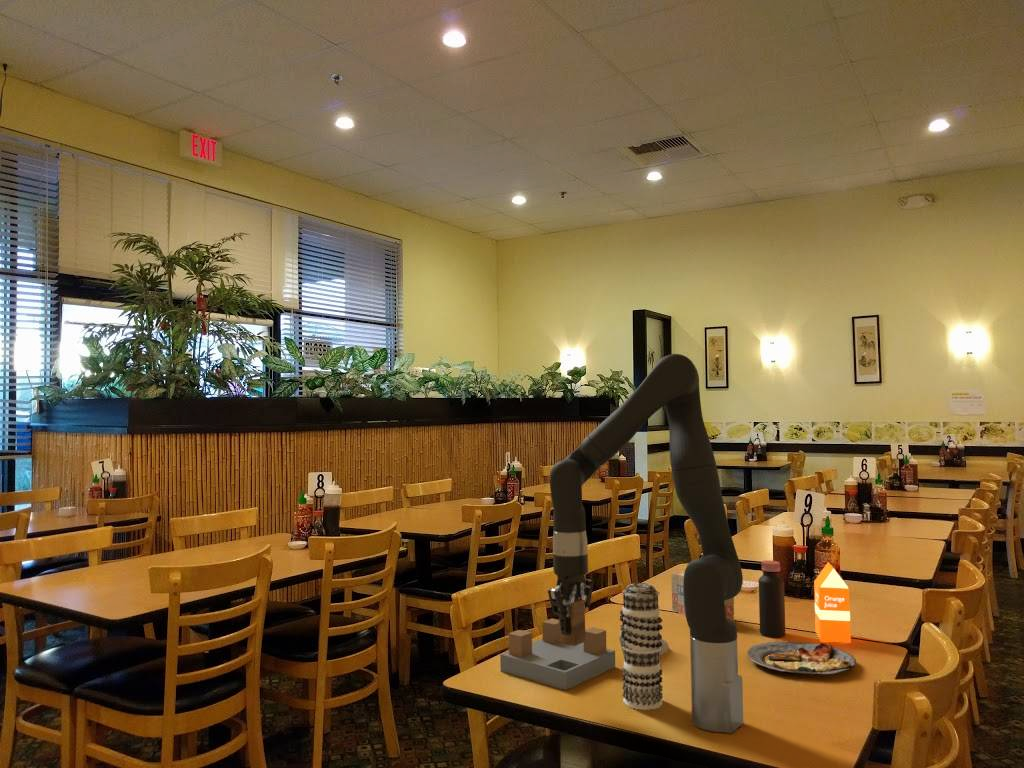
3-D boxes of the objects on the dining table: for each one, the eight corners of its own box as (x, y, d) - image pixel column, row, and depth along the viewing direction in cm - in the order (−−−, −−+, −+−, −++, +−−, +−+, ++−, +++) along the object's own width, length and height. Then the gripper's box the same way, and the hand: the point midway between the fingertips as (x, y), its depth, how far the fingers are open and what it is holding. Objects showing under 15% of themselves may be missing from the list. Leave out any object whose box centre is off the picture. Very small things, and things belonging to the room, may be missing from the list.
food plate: (848, 652, 192) (847, 638, 193) (865, 685, 170) (864, 669, 170) (746, 647, 199) (746, 634, 199) (750, 679, 177) (749, 664, 177)
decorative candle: (612, 702, 162) (610, 586, 162) (637, 691, 168) (635, 578, 169) (647, 714, 155) (645, 592, 156) (672, 701, 162) (670, 585, 162)
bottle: (782, 631, 212) (780, 559, 213) (788, 638, 205) (786, 564, 206) (757, 630, 212) (755, 559, 213) (763, 637, 206) (761, 564, 207)
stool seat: (615, 666, 184) (614, 630, 184) (565, 690, 169) (565, 650, 169) (551, 650, 197) (551, 616, 198) (500, 670, 182) (500, 633, 183)
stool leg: (585, 641, 162) (584, 599, 162) (574, 646, 159) (573, 603, 159) (570, 638, 164) (569, 597, 165) (559, 642, 161) (558, 600, 162)
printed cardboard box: (735, 626, 218) (734, 583, 218) (718, 629, 215) (717, 585, 216) (687, 609, 237) (686, 569, 238) (671, 611, 234) (670, 572, 235)
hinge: (643, 667, 184) (630, 626, 186) (627, 670, 186) (614, 630, 188) (670, 648, 197) (657, 611, 200) (654, 652, 200) (642, 614, 202)
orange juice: (820, 642, 201) (818, 567, 202) (815, 632, 210) (813, 560, 211) (851, 643, 200) (849, 568, 200) (845, 634, 208) (842, 561, 209)
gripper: (564, 558, 155) (566, 642, 154) (603, 548, 165) (605, 627, 164) (536, 554, 159) (538, 636, 159) (575, 545, 170) (577, 622, 169)
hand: (572, 631), depth 161 cm, fingers closed on stool leg, 4 cm apart
